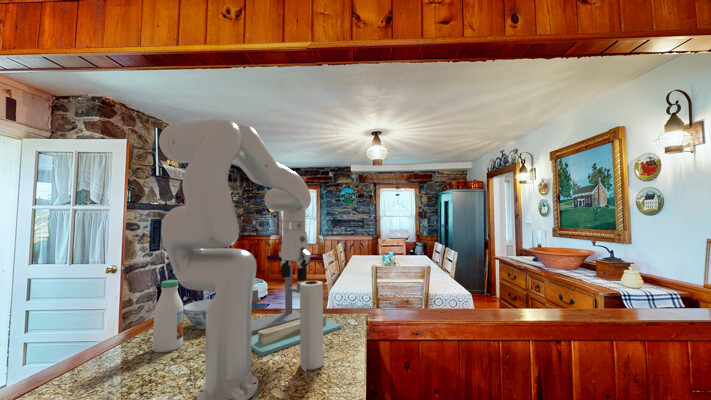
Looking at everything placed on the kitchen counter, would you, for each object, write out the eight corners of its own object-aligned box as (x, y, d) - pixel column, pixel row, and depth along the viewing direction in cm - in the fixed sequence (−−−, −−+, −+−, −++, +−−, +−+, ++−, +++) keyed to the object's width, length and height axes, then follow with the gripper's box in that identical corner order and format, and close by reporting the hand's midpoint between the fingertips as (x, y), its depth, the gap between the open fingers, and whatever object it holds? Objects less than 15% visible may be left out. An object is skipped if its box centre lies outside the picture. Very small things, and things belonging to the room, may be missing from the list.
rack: (307, 318, 117) (307, 266, 118) (247, 335, 100) (248, 274, 102) (293, 313, 124) (292, 264, 125) (235, 328, 107) (235, 271, 109)
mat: (341, 328, 106) (341, 325, 106) (262, 356, 85) (262, 352, 85) (318, 319, 115) (318, 317, 115) (242, 343, 94) (242, 339, 94)
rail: (326, 324, 107) (326, 315, 108) (263, 344, 90) (264, 334, 91) (320, 322, 110) (319, 313, 110) (258, 341, 93) (258, 331, 93)
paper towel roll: (313, 357, 84) (313, 279, 85) (328, 364, 79) (327, 281, 81) (291, 366, 78) (291, 283, 80) (305, 374, 74) (305, 286, 76)
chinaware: (195, 336, 100) (195, 312, 101) (175, 327, 109) (176, 305, 110) (236, 323, 112) (236, 302, 113) (215, 316, 121) (216, 297, 122)
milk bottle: (168, 354, 87) (170, 283, 89) (146, 352, 89) (148, 283, 90) (188, 343, 95) (189, 278, 96) (167, 341, 96) (169, 278, 98)
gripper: (318, 226, 99) (318, 280, 97) (289, 227, 111) (289, 275, 109) (299, 226, 94) (298, 283, 92) (271, 227, 106) (270, 277, 104)
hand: (293, 278), depth 101 cm, fingers open, 9 cm apart
